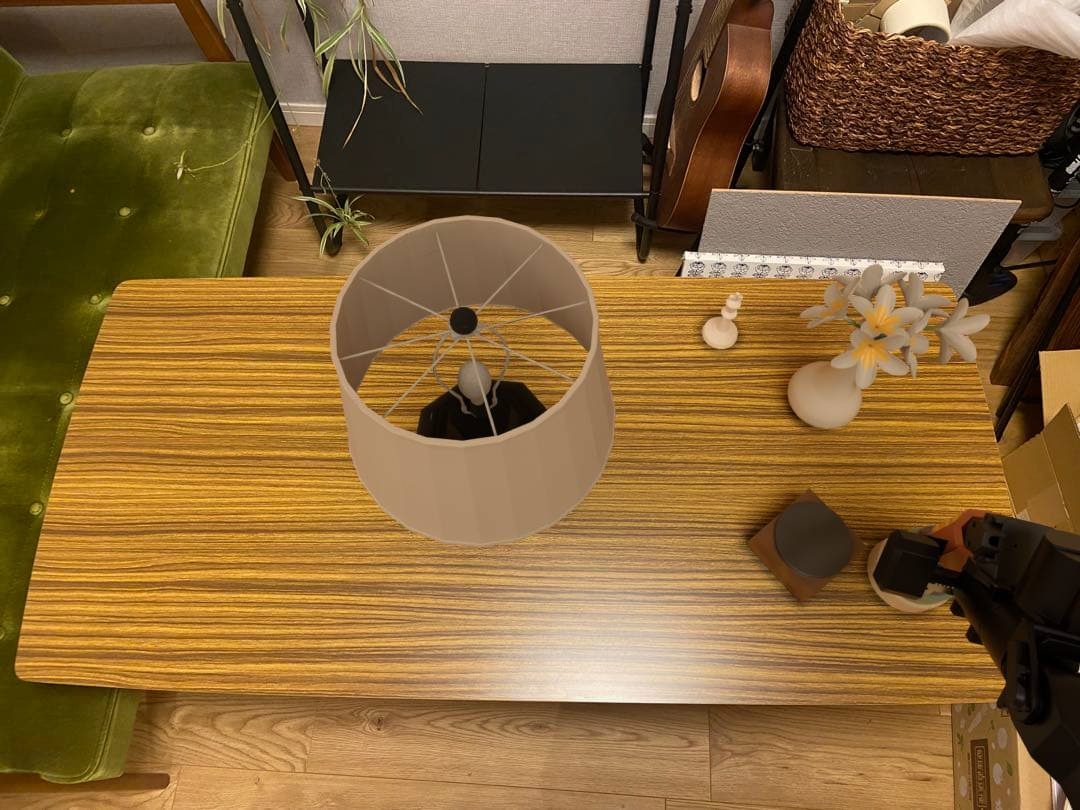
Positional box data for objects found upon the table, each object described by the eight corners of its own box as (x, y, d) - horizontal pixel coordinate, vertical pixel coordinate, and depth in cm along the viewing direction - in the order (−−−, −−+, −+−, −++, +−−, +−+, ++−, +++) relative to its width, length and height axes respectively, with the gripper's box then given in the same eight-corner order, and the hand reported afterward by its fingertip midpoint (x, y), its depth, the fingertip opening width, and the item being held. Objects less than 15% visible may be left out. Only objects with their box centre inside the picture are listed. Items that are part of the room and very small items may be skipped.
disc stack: (958, 580, 85) (1003, 564, 76) (910, 628, 82) (950, 617, 74) (899, 523, 88) (936, 501, 79) (851, 567, 85) (884, 550, 77)
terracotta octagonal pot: (983, 561, 77) (1029, 543, 69) (948, 596, 75) (992, 582, 68) (939, 519, 79) (979, 497, 71) (903, 552, 77) (941, 533, 70)
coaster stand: (850, 556, 86) (870, 545, 81) (799, 603, 83) (816, 594, 78) (796, 500, 89) (811, 486, 84) (745, 544, 86) (758, 532, 81)
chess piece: (738, 349, 98) (759, 310, 89) (703, 348, 98) (720, 309, 89) (735, 319, 100) (754, 277, 91) (700, 318, 100) (716, 277, 91)
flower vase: (902, 438, 92) (1020, 342, 70) (766, 456, 91) (840, 365, 69) (868, 352, 98) (968, 237, 75) (739, 368, 97) (801, 257, 74)
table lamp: (563, 365, 97) (576, 146, 61) (630, 552, 86) (694, 419, 50) (369, 417, 94) (262, 217, 57) (413, 618, 83) (314, 528, 47)
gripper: (1175, 583, 57) (1076, 498, 72) (940, 524, 60) (890, 453, 74) (1111, 688, 61) (1029, 588, 76) (893, 629, 64) (853, 543, 78)
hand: (951, 541), depth 76 cm, fingers closed on terracotta octagonal pot, 6 cm apart
